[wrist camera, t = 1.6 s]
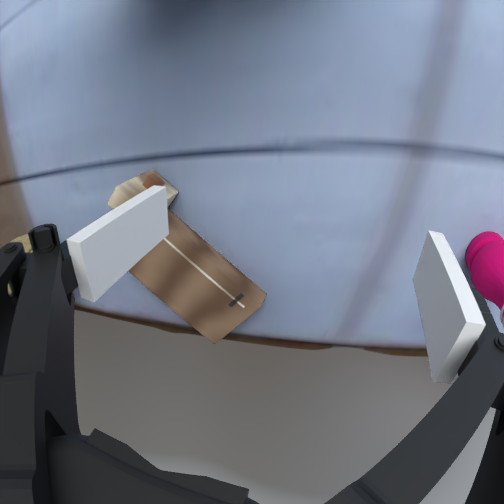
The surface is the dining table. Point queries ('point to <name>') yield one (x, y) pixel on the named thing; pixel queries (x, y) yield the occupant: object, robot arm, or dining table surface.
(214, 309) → the walnut board
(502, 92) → the dining table surface
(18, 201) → the dining table surface
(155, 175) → the marking gauge
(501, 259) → the pepper mill
